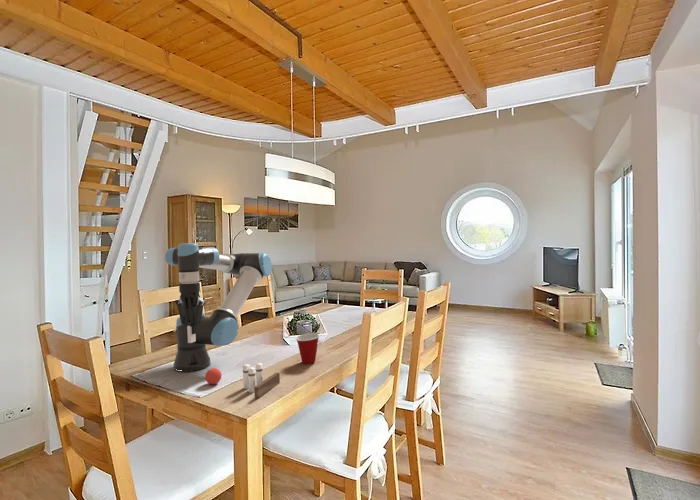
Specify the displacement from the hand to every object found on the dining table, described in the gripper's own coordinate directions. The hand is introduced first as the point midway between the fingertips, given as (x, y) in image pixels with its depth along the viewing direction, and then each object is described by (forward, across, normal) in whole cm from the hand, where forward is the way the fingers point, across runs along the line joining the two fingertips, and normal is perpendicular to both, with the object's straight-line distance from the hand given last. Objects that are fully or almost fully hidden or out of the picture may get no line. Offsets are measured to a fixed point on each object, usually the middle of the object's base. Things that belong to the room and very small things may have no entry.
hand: (191, 341), depth 154 cm
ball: (+13, +10, 0) cm, 16 cm away
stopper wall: (+16, +34, 0) cm, 37 cm away
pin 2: (+16, +28, +3) cm, 33 cm away
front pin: (+16, +24, 0) cm, 29 cm away
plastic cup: (+16, +34, +33) cm, 50 cm away
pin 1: (+16, +28, -2) cm, 33 cm away
